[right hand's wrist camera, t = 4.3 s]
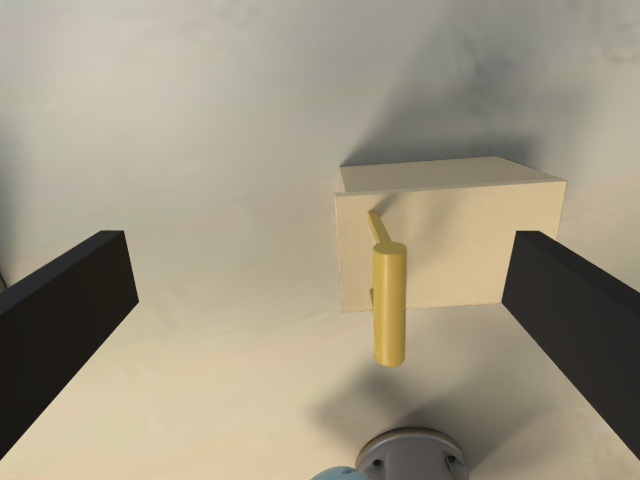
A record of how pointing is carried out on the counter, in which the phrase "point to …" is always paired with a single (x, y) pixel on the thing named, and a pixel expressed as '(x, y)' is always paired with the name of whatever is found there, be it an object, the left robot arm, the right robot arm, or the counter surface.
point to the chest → (434, 173)
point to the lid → (434, 248)
